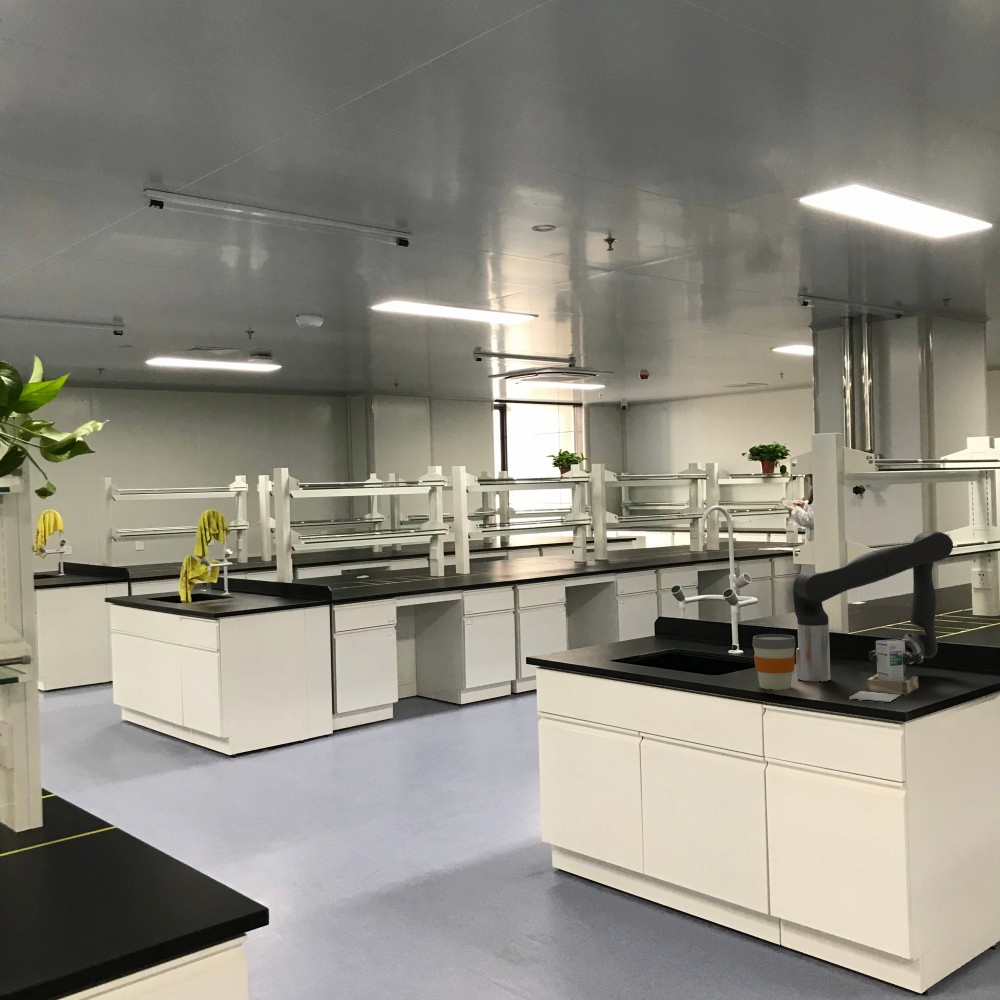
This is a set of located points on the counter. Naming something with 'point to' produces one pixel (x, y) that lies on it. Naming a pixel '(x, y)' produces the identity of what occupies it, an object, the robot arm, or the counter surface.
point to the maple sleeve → (892, 685)
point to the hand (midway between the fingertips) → (889, 660)
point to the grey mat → (874, 696)
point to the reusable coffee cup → (774, 660)
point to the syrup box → (890, 660)
